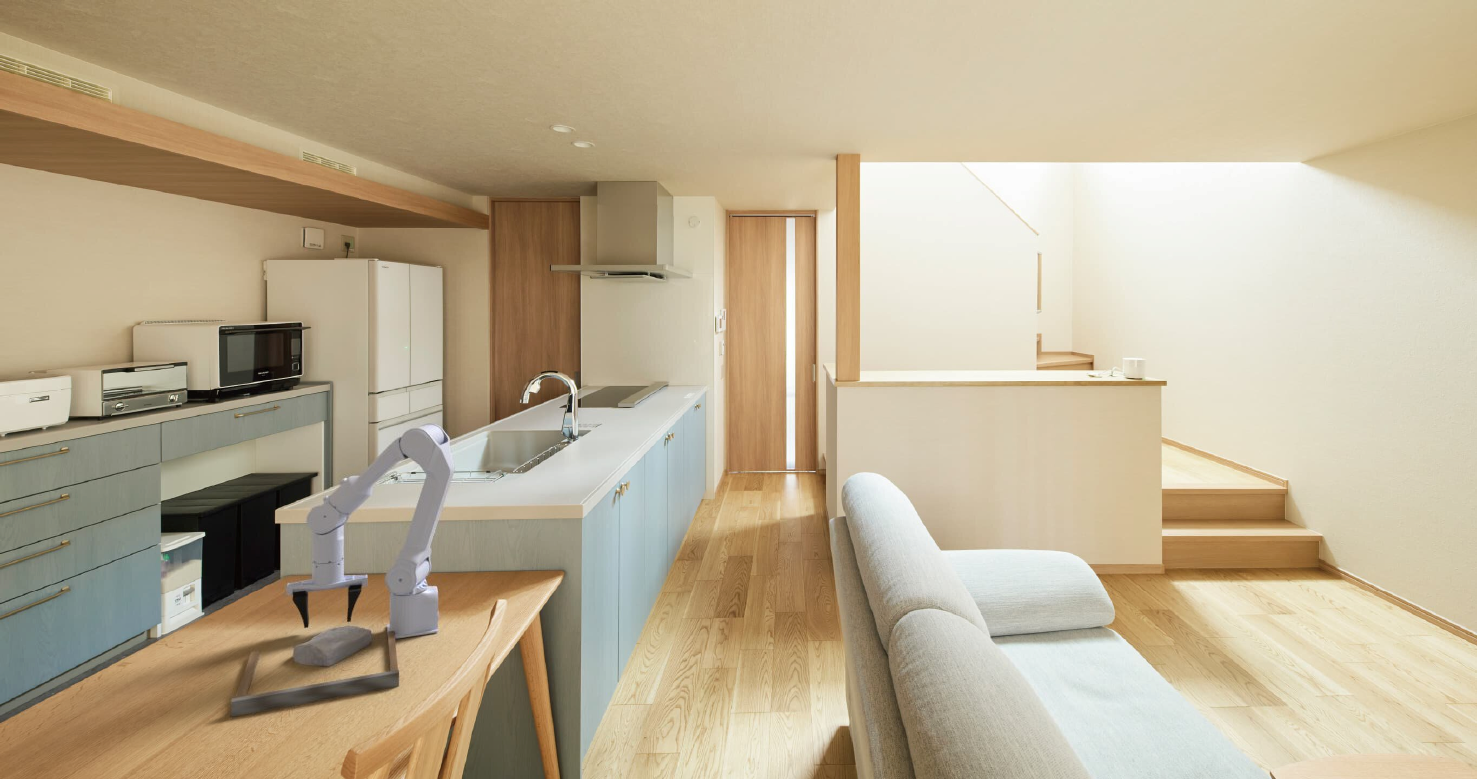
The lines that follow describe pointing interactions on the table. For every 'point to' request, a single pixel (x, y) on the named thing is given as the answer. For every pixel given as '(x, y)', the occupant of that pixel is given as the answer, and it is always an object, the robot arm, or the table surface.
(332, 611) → the table surface
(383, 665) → the table surface
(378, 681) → the u-shaped frame
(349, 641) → the stone block
